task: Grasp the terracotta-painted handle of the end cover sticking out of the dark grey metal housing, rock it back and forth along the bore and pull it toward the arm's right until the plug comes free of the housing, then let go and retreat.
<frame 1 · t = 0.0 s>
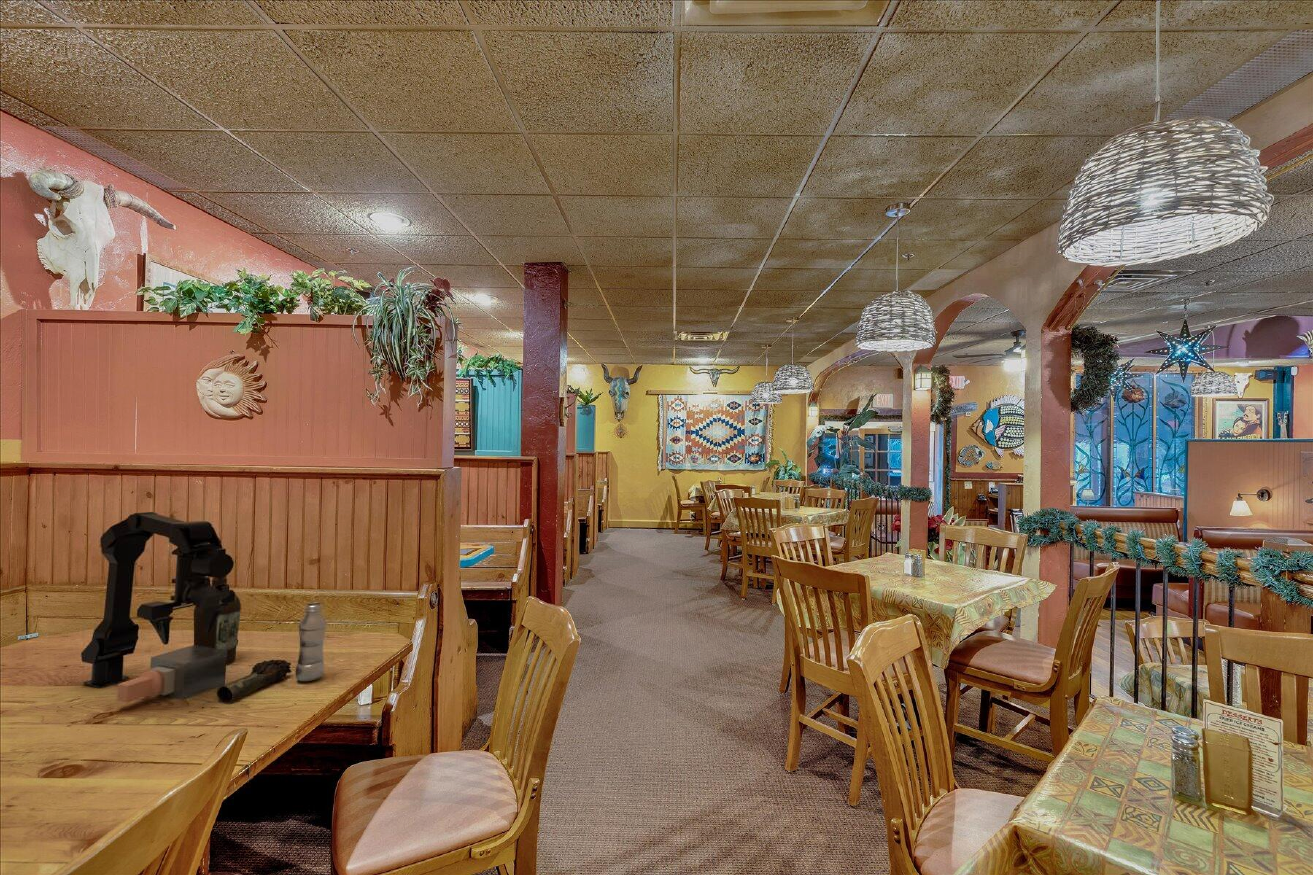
hand: (187, 638, 136), 15 cm above the table, fingers open, 9 cm apart
metal pipe: (254, 689, 144), on the table
plastic bottle: (309, 680, 150), on the table
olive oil: (214, 663, 159), on the table
housing: (187, 687, 143), on the table
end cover: (159, 681, 137), point 4 cm above the table, slide at 2.5 cm
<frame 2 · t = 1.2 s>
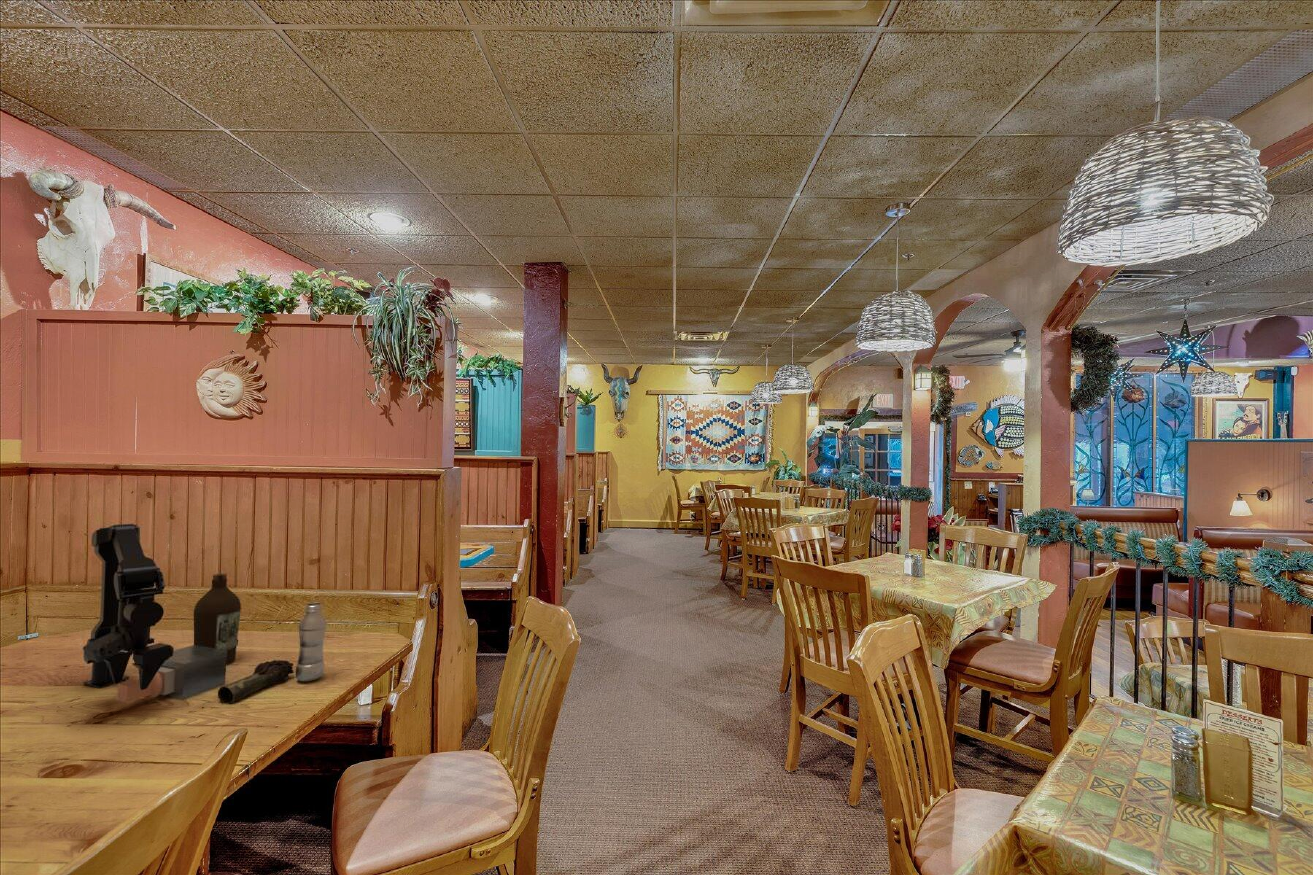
hand: (130, 686, 131), 5 cm above the table, fingers open, 9 cm apart
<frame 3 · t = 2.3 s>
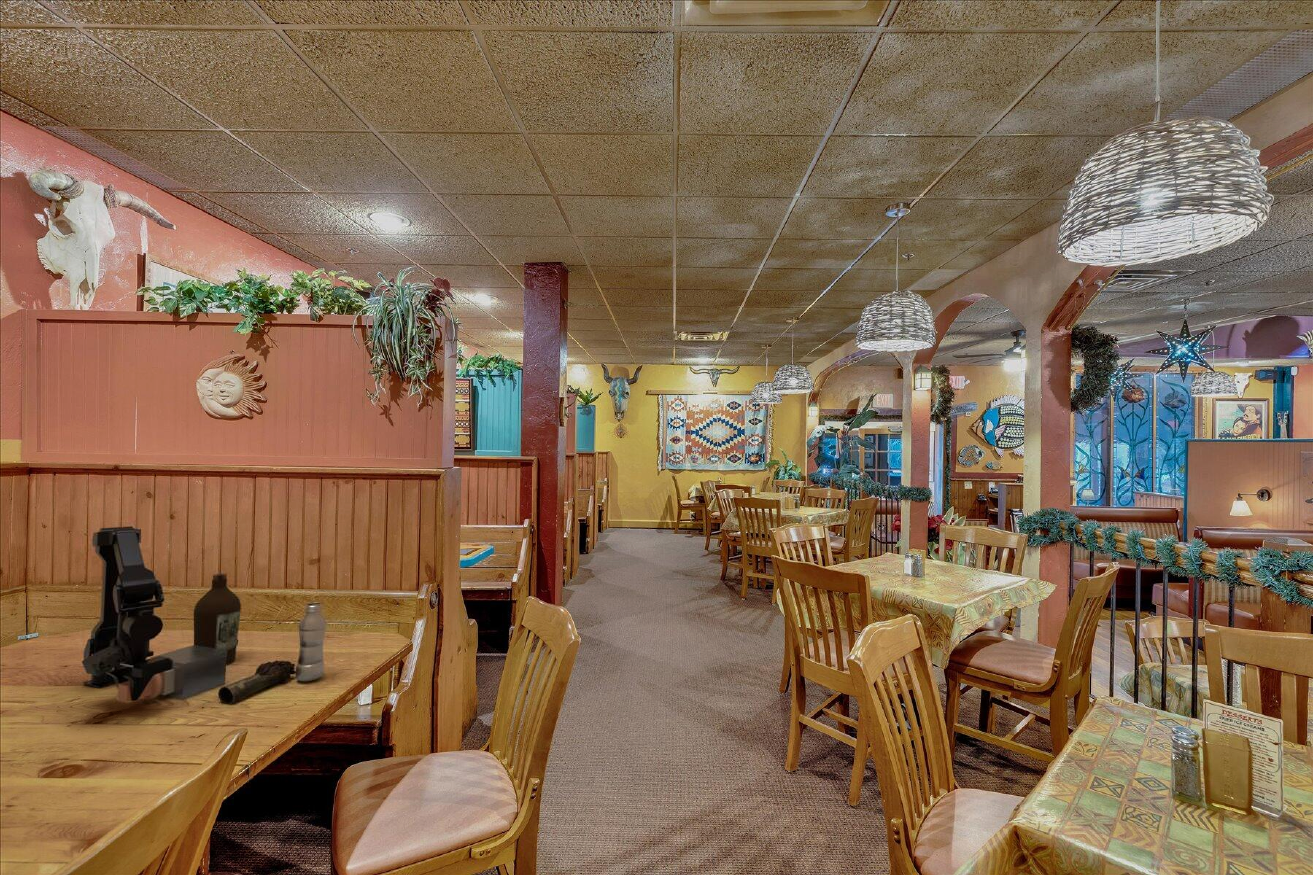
hand: (129, 699, 131), 2 cm above the table, fingers closed on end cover, 3 cm apart
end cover: (159, 681, 137), point 4 cm above the table, slide at 2.5 cm, touching gripper
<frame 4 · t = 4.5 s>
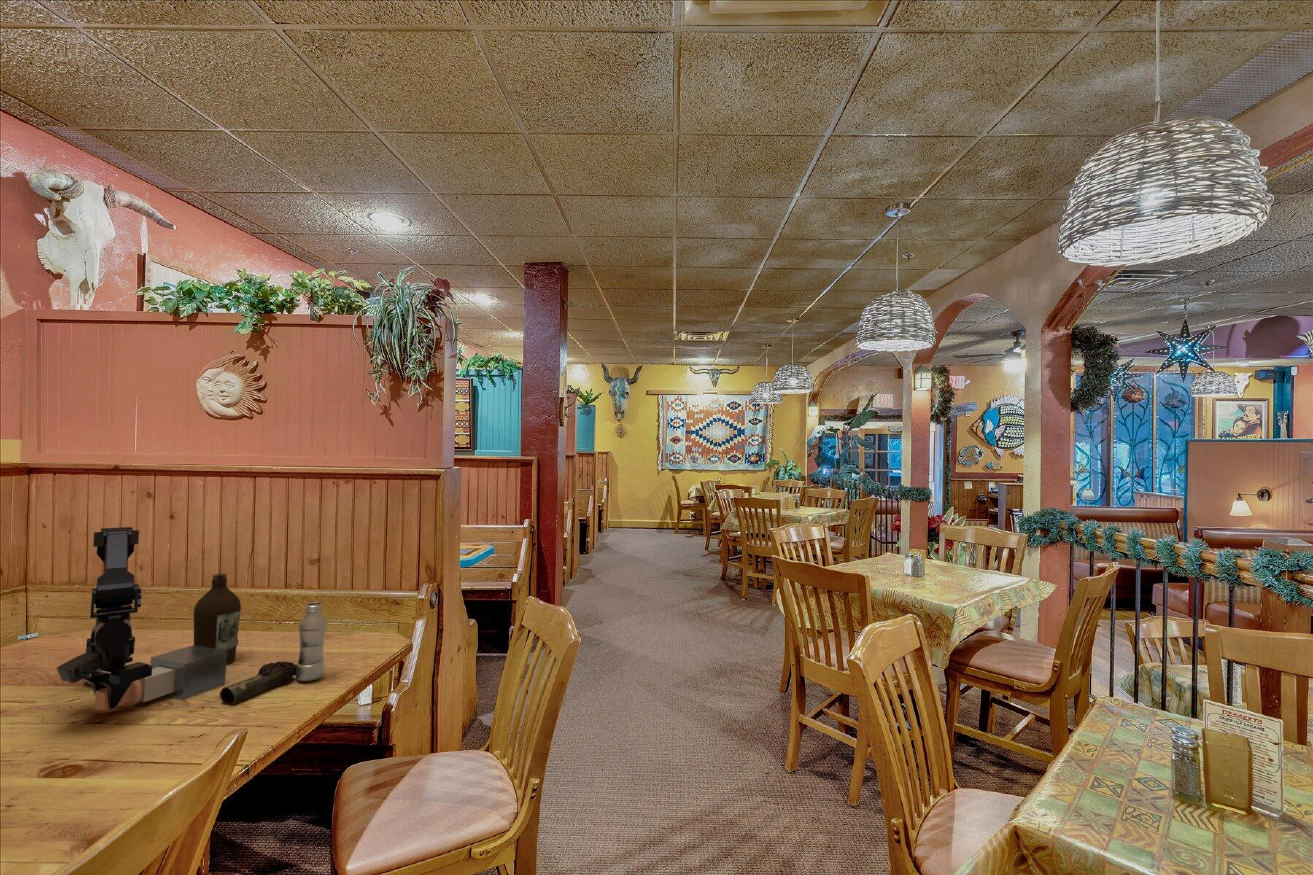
hand: (107, 706, 127), 2 cm above the table, fingers closed on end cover, 3 cm apart
metal pipe: (260, 691, 143), on the table, touching plastic bottle
plastic bottle: (309, 680, 150), on the table, touching metal pipe
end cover: (139, 687, 133), point 4 cm above the table, slide at 6.7 cm, touching gripper
everything else where it was.
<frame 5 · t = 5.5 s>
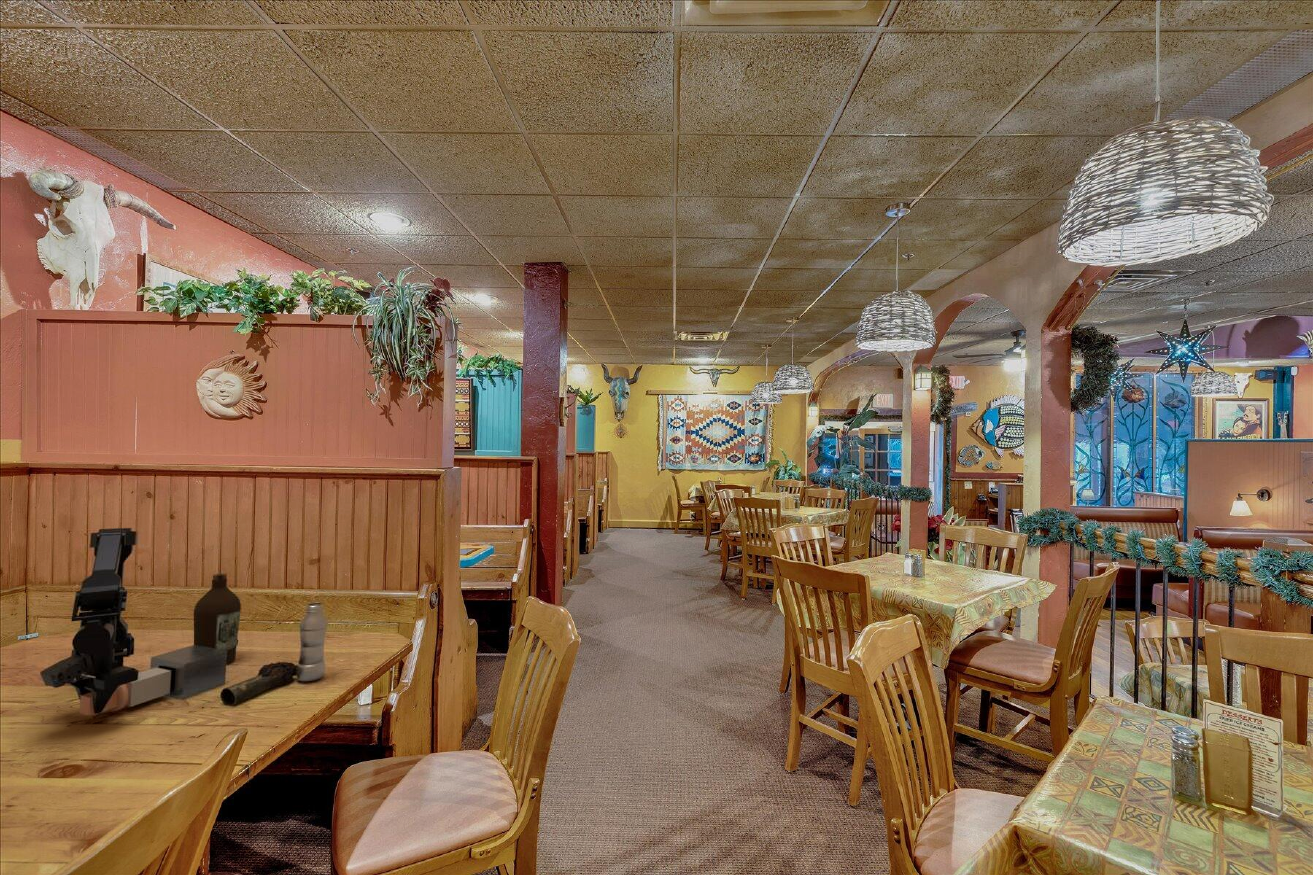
hand: (92, 711, 124), 2 cm above the table, fingers closed on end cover, 3 cm apart
metal pipe: (260, 692, 142), on the table
plastic bottle: (310, 680, 150), on the table
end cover: (125, 692, 130), point 4 cm above the table, slide at 9.3 cm, touching gripper
everything else where it was.
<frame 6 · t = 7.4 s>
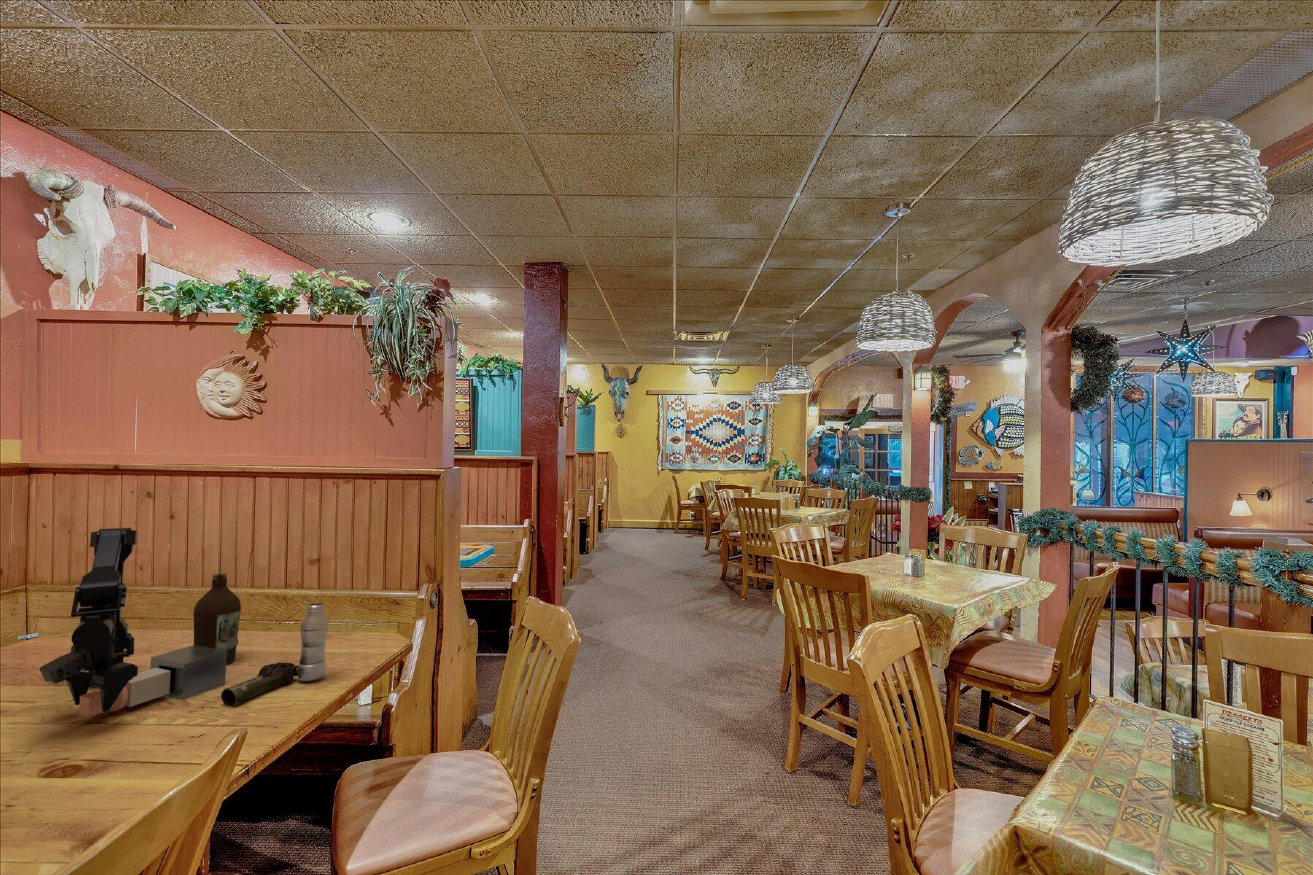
hand: (92, 707, 124), 3 cm above the table, fingers open, 9 cm apart
metal pipe: (260, 692, 142), on the table, touching plastic bottle
plastic bottle: (311, 680, 150), on the table, touching metal pipe
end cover: (125, 692, 130), point 4 cm above the table, slide at 9.4 cm
everything else where it was.
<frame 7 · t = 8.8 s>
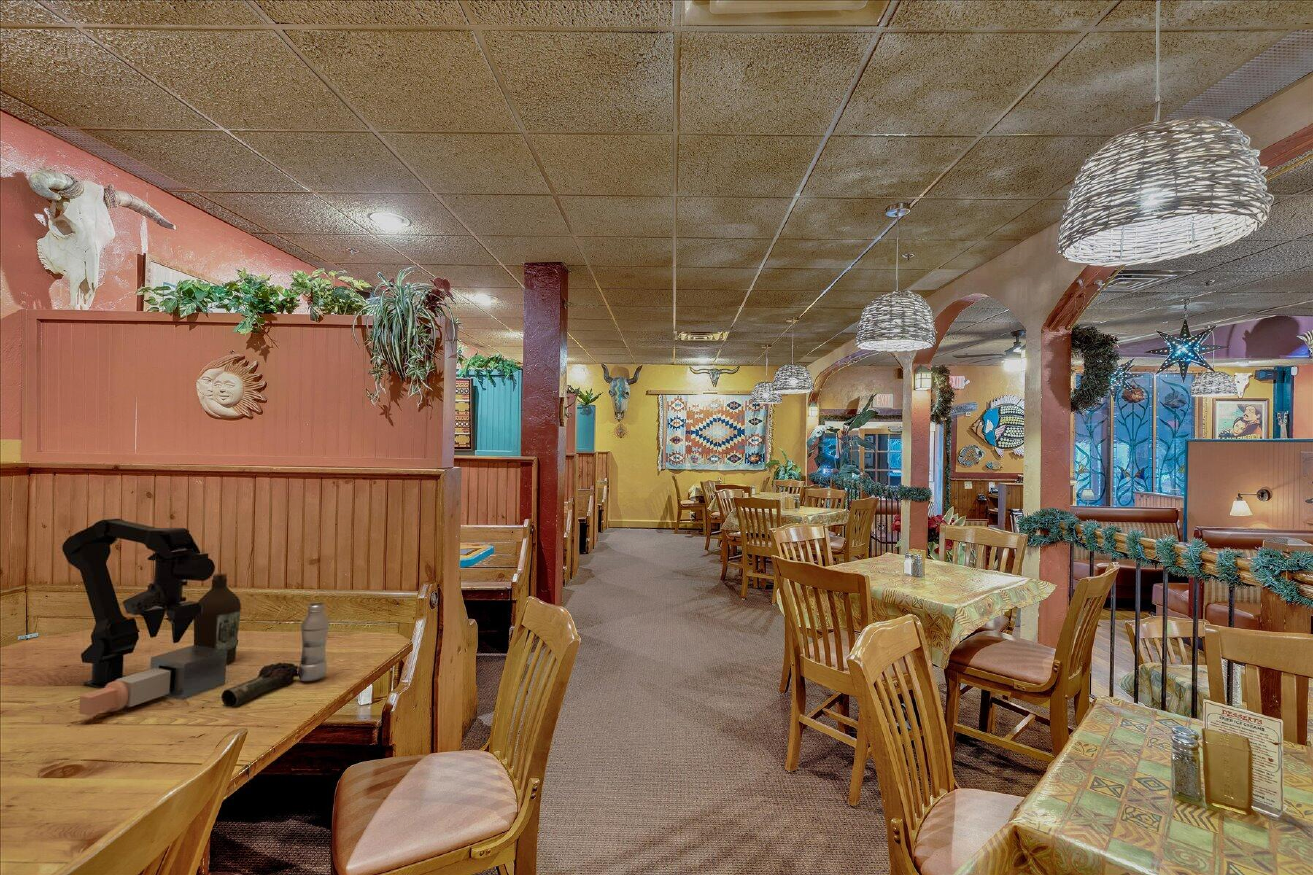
hand: (164, 639, 143), 12 cm above the table, fingers open, 9 cm apart
metal pipe: (261, 693, 142), on the table
plastic bottle: (312, 680, 150), on the table
everything else where it was.
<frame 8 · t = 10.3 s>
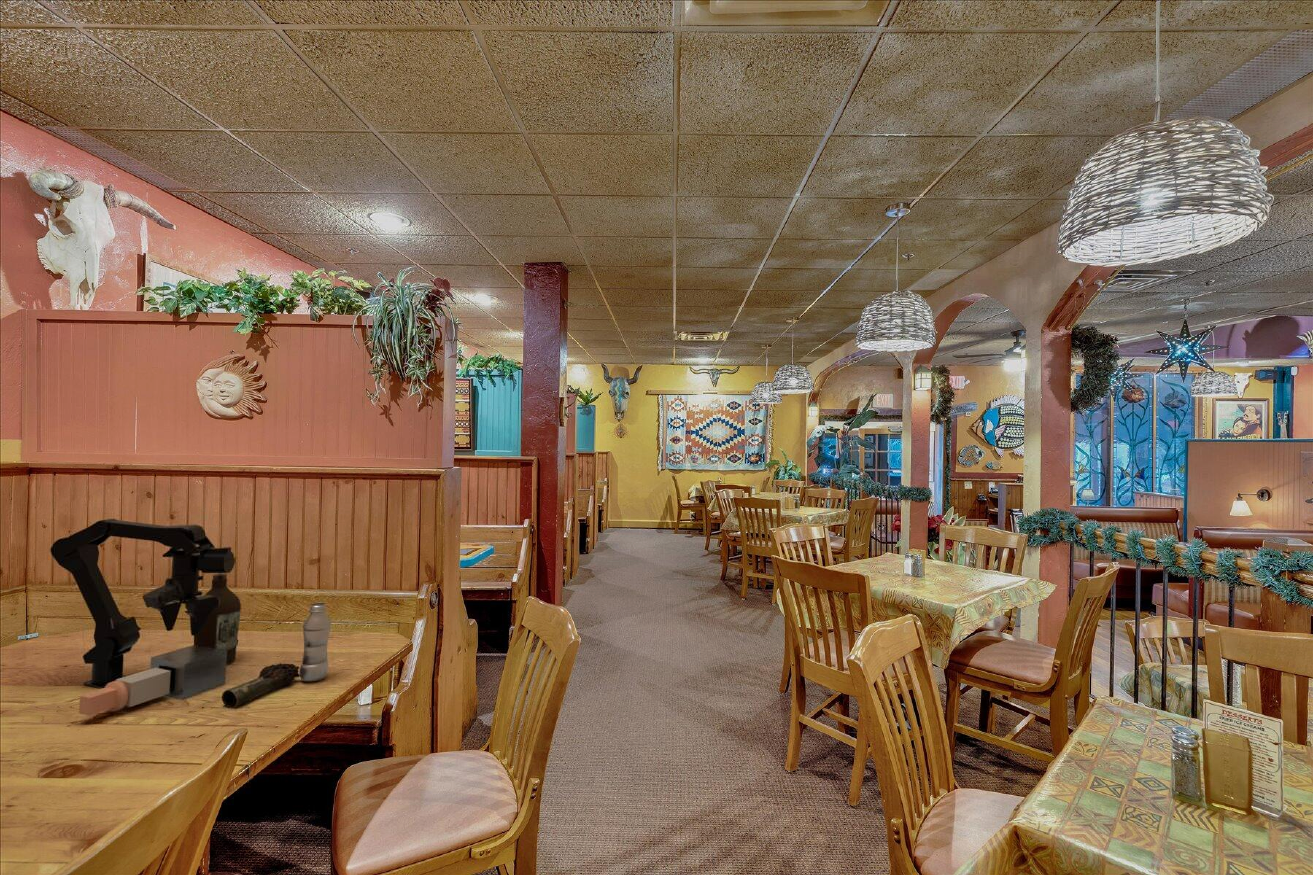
hand: (181, 632, 148), 12 cm above the table, fingers open, 9 cm apart
at the end: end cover slide at 9.4 cm; the gripper is holding nothing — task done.
